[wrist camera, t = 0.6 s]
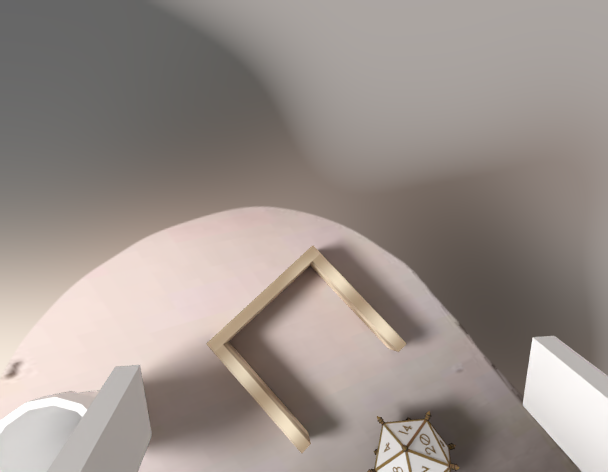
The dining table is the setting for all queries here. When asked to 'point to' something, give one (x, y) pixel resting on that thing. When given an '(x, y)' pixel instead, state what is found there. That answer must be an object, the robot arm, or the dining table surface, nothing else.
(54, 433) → the foam cup
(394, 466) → the game die
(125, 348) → the dining table surface
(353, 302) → the corral
